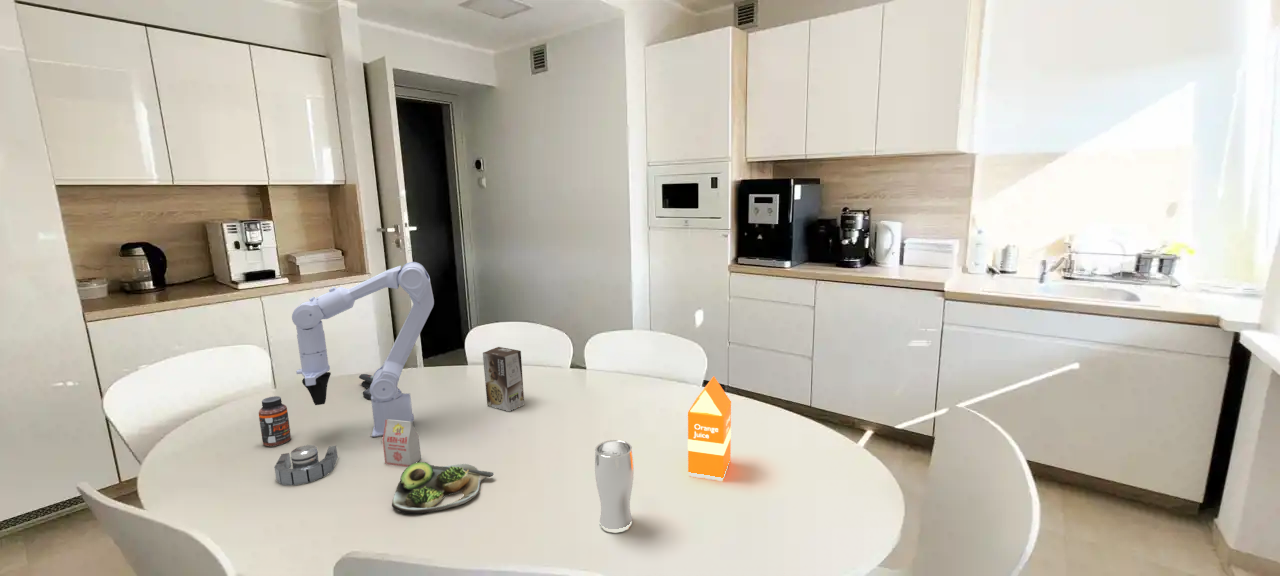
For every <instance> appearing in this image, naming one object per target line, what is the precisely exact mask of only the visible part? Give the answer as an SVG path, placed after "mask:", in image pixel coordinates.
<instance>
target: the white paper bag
mask: <svg viewBox="0 0 1280 576" xmlns="http://www.w3.org/2000/svg"><path fill="white" fill-rule="evenodd" d="M382 447H383V458H384V464H386V465H391V466H392V465H393V466H399V467H400V466H401V467H408V466H410V465H411V464H414V463H416V462H420V461H421V460H422V455H421V444H420V434H419V433H418V431H417V430H416V428H415V426H414V422H413V423H412V422H410V421H400V420H391V419H387V420H385V429H384V434H383V435H382ZM420 459H421V460H420Z"/></svg>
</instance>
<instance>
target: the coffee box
mask: <svg viewBox="0 0 1280 576" xmlns="http://www.w3.org/2000/svg"><path fill="white" fill-rule="evenodd" d="M482 361H483V369H484V371H483V372H484V382H485V394H486V405H489V406H492V407H491V408H493V407H496V408H495V409H497V408H499V409H498V410H500V409H503V410H502V411H504V410H506V412H508V411H510V412H512V411H514V410H516V409H518V408H517V407H519V406H521V407H522V405H523V404H524V405H525V392H524V379H523V365H522V362H523V361H522V351H521V350H520V349H519V350H518V349H513V348H508V347H507V348H506V347H502V346H497V347H495V348H494V347H493V348H492V349H488V350H487V351H484V352H482ZM524 405H523V406H524ZM489 406H488V407H489ZM519 408H520V407H519ZM513 409H514V410H513ZM511 410H512V411H511Z"/></svg>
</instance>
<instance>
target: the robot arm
mask: <svg viewBox="0 0 1280 576" xmlns="http://www.w3.org/2000/svg"><path fill="white" fill-rule="evenodd" d="M399 287H401V289H402V290H404V291H405V292H406V293H407V294H408V295H409V298H410V300H411V302H412V306H411V307H410V309H409V313H408V314H407V316H406V319H405V321H404V322H403V325H402V326H401V328H400V331H399V332H398V334H397V336H396V339H395V341H394V343H393V344H392V347H391V349H390V351H389V352H388V355H387V357H386V358H385V360H384V362H383V364H382V365H381V366H380V367H379V368H378V369H376V371H375V372H374V373H373V375H372V376H373V381H372V383H371V385H370V393H371V395H372V396H371V399H370V401H371V409H372V419H373V428H372V429H373V430H372V433H371V437H373V438H375V437H381V436H382V437H383V434H384V429H385V420H387V419H391V420H400V421H410V422H412V423H413V424H414V420H415V417H414V413H413V405H412V404H413V403H412V397H411V393H409V392H408V393H405V392H404V393H403V392H402V390H400V388H399V387H398V386H399V385H398V384H399V380H400V378H401V375H402V372H403V369H404V367H405V364H406V363H407V361H408V358H409V357H410V355H411V353H412V351H413V349H414V346H415V345H416V344H417V343H416V342H417V340H418V338H419V337H420V334H421V332H422V330H423V328H424V326H425V324H426V322H427V320H428V318H429V316H430V314H431V312H432V310H433V308H434V305H435V299H434V294H433V288H432V284H431V278H430V275H429V273H428V271H427V270H426V268H425V267H424V265H422V264H421V263H419V262H416V261H411V262H409V261H408V262H407V263H405V264H404V265H403V266H402V265H398V266H395V267H392V268H389V269H386V270H385V271H383V272H380V273H379V274H377V275H374V276H372V277H370V278H368V279H366V280H364V281H362V282H360V283H358V284H356V285H354V286H352V287H350V288H346V287H343V286H338V287H336V286H333V287H331V288H329V289H328V292H326V293H323V294H321V295H319V296H316V297H315V296H312V297H310V298H308V299H309V301H304V302H302V303H300V305H298V306H297V307H296V308H295V309H294V310H293V311H292V313H291V320H292V323H293V324H294V325H295V326H296V333H297V334H296V339H297V345H298V351H299V352H298V353H299V359H300V368H299V369H297V370H296V371H295V372H296V375H302V377H303V378H302V380H301V383H302V384H303V386H304V387H305V388H306V390H307V391H308V392H309V395H310V396H311V399H312V402H313V404H314V406H321V405H325V404H326V401H327V390H328V383H329V380H330V378H331V375H332V374H331V373H332V372H331V371H330V370H331V366H330V365H329V364H330V363H329V357H328V352H327V351H328V350H327V343H326V336H325V330H324V326H323V321H322V320H328V319H330V318H332V317H335V316H337V315H339V314H341V313H343V312H345V311H347V310H350V309H352V308H353V307H354V305H355V302H356V300H360V299H362V298H364V297H367V296H369V295H371V294H374V293H376V292H378V291H381V290H382V289H386V288H388V289H389V288H390V289H395V290H398V289H399Z"/></svg>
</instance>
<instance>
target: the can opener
mask: <svg viewBox="0 0 1280 576" xmlns="http://www.w3.org/2000/svg"><path fill="white" fill-rule="evenodd" d="M373 376H374V375H372V374H367V373H362V374H360V375H359V376H358V378H359V379H360V380H363V381H362V382H361V383H360V384H361V386H362V387H363V388H366V389H365V390H363V391H362V395H363V397H364V398H365V399H367V400H371V396H372V395H371V393H370V385H371V383H372V381H373Z"/></svg>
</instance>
